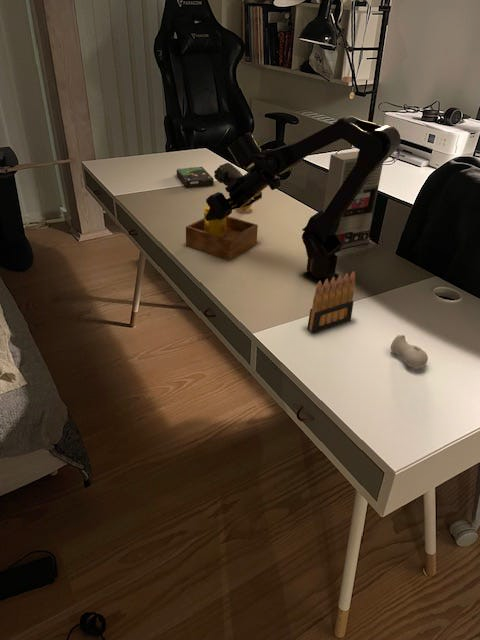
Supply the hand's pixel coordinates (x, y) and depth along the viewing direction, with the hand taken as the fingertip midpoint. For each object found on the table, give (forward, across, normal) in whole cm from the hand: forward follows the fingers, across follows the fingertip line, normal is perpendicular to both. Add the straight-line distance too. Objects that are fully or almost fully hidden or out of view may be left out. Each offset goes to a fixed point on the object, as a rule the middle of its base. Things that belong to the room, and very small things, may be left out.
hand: (216, 214), depth 137 cm
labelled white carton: (-15, -22, +26) cm, 38 cm away
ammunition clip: (-25, +19, +37) cm, 48 cm away
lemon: (+11, -25, +1) cm, 27 cm away
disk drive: (+33, -38, -21) cm, 55 cm away
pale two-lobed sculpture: (-38, +21, +50) cm, 66 cm away
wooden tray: (+4, 0, +7) cm, 9 cm away
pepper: (+4, 0, +4) cm, 6 cm away
